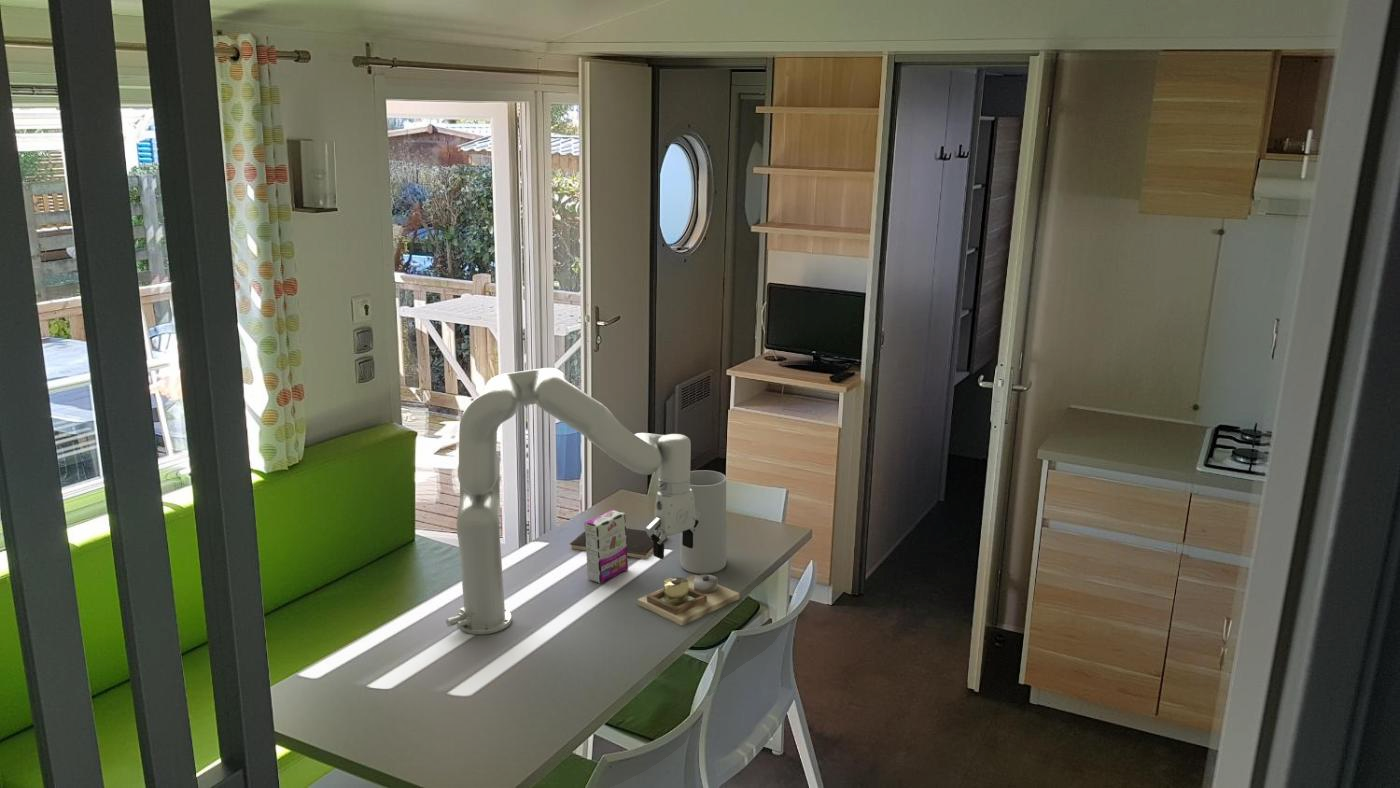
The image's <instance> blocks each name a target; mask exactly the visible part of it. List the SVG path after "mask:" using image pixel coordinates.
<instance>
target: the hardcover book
mask: <svg viewBox="0 0 1400 788" xmlns="http://www.w3.org/2000/svg"><path fill="white" fill-rule="evenodd" d="M660 535H661V533H659V535H658V538H659V537H660ZM667 537H668V536H667V535H666V536H665V538H664V540H663V542H664V541H665V540H666V539H667ZM626 541H627V556H630V557H629V558H634V557H636V559H641V558H642V560H646V559H647V558H648V557H649V556H650V555H651V554H653V541H651V539H650V538H649V537H648V534H647V532H646V530H645V529H644V530H643V529H635V528H630V527H629V528H627V527H626ZM569 545H570V546H571V549H572V550H577V549H578V551H584V550H586V537H585V531H583V532H582V533H581V534H579V535H578V536H577V537H576V538H575V539H574V540H573V541H571V542H570V543H569Z"/></svg>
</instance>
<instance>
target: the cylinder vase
mask: <svg viewBox="0 0 1400 788" xmlns="http://www.w3.org/2000/svg"><path fill="white" fill-rule="evenodd" d="M690 488H691V489H692V491H693V496H694V503H695V510H696V511H699V512H701V515H700V518H699V520H698V524H697V526H696V528H695V529H696V530H695V532H694V533H693V548H691V549H690V548H688V547H686V546H683V545H682V537H683V532H680V533H679V555H680V556H679V560H680V562H679V563H680V567H682V569H684V570H685V571H687V572H688V573H691V574H696V575H697V574H699V575H710V574H715V573H717V572H720V571H721V570H723V569H724V568H725V567H726V565H727V560H728V559H727V476H726V475H725V474H724V473H722V472H719V471H715V470H705V469H704V470H703V469H702V470H701V469H700V470H690Z"/></svg>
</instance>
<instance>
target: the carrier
mask: <svg viewBox="0 0 1400 788" xmlns="http://www.w3.org/2000/svg"><path fill="white" fill-rule="evenodd" d="M685 579H687V580H688V587H689V601H688V602H686V603H684V604H682V605H679V606H673V605H671V604H669V603H667V602H665V601H664V587H662V588H660V589H658V590H656V591H654V592H651V593H649V594H646V595H644V596H641V597H640V598H637V606H640V607H641V608H643V609H646V610H648V611H650V612H652V613H654V614H656V615H659V616H660V617H662V618H664V619H667V620H668V621H671V622H673V623H675V624H677V625H679V626H685V625H686V624H688V623H691V622H693V621H696V620H698V619H700V618H701V617H705V616H706V615H708V614H710V613H713V612H715V611H717V610H719V609H720V608H724V607H725V606H727V605H730V604H731V603H735V602H736V601H738V600H740V592H737V591H735V590H732V589H730V588H728V587H725V586H723V585H720V584H718V583H719V582H718V577H716V575H715V576H714V575H712V574H699V575H697V574H693V575H690V576H688V577H686V578H685Z"/></svg>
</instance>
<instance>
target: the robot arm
mask: <svg viewBox="0 0 1400 788" xmlns="http://www.w3.org/2000/svg"><path fill="white" fill-rule="evenodd" d="M483 389H484V390H483V393H482V394H479V395H478V396H477V397H476V398H474V399H473V400H472V401H471V402H470V403H469V404H468V405H467V406H466V407H465V409H464V411H463V412H462V415H461V417H460V420H459V431H458V433H459V434H458V438H459V439H458V440H459V441H458V442H459V443H458V465H457V477H458V482H459V506H458V509H457V516H456V534H457V541H458V549H459V560H460V561H459V563H460V571H461V584H462V595H463V596H462V598H463V599H462V600H463V607H460V608H459V613H457V614H456V616H451V617H449V618H447V619H446V620H445V623H446V626H447V627H448V628H450V627H452V626H455V625H457V628H458V629H460V630H461V631H463V632H464V633H467V634H470V635H471V634H472V635H490V634H494V633H498V632H500V631H503V630H504V629H506V628H507V627H509V626H510V625H511V623H512V621H513V615H512V613H511V611H509V610H508V609H506V608H505V594H504V579H503V564H502V563H503V562H502V561H503V560H502V549H501V537H500V509H501V508H500V507H501V506H500V505H501V502H500V501H501V499H500V498H501V494H500V493H501V492H500V491H501V488H500V487H501V486H500V485H501V484H500V480H501V479H500V477H501V475H500V474H501V469H500V468H501V466H500V465H501V464H500V463H501V462H500V457H499V455H498V452H497V446H498V445H497V443H498V442H497V440H498V437H497V435H498V430H499V427H500V426H501V424H503V423H505V422H507V421H508V420H510V419H511V418H513V417H514V416H515V415H516V414H517V412H518V410H519V408H520V407H523V406H530V405H537V406H538V407H539V409H542V410H543V411H544V412H545V413H547V414H549V415H551V416H553V418H555V419H557V420H559V421H560V422H562V423H564V424H565V425H567V426H569V428H571V429H573V430H574V431H576V432H578V433H580V434H581V435H582V436H584V437H585V438H586V439H587V440H588V441H589V442H591V443H592V444H593V445H595V446H596V447H597V448H598V449H600V450H601V451H602V452H604V453H605V454H606V455H607V456H609V457H610V458H611V459H613V460H615V461H616V462H617V463H619V464H621V465H622V466H623V467H625V468H627V469H628V470H630V471H632V472H634V473H635V474H638V475H642V476H649V475H653V474H654V473H655V472H657V471H658V485H657V486H656V491H657V492H656V497H655V504H654V511H653V513H654V514H653V520H652V521H651V522H650V523H649V525H647V526H646V527H645V528H644V531H646V532H647V534H648V537H649V538H650V539H651V541H653V552H652V555H653V557H655V558H658V559H660V560H663V559H664V558H665V543H664V541H665V540H664V538H665V536H666V535H667V537H669V536H670V537H671V536H674V535H676V534H680V532H683V537H682V545H683V546H686V547H688V548H690V549H691V548H693V533H694V532H695V530H696V529H695V528H696V526H697V524H698V520H699V518H700V515H701V512H699V511H696V510H695V503H694V496H693V491H692V489H691V488H690V471H691V458H692V457H691V456H692V455H691V449H692V448H691V447H692V445H691V443H692V442H691V439H690V438H689V437H688V436H686V435H685V434H681V433H670V434H669V433H668V434H657V433H649V432H637V433H635V434H634V433H633V432H631V430H629V429H627V428H626V427H625V426H624V425H623V424H622V423H620V421H619V420H618V419H617V418H616V417H615V416H614V415H613V413H612V412H611V410H610V409H608V407H606V405H604V404H603V403H601V402H600V401H599V400H597V399H595V398H594V397H592V396H591V395H588V393H586V392H584V391H583V390H581V389H579V388H578V387H576V386H575V385H574V384H572V383H570V382H569V381H568V378H567V376H566V374H565V373H564V372H562V371H561V370H559V369H558V368H555V367H543V368H542V367H541V368H536V369H535V368H533V369H528V370H522V371H521V370H520V371H514V372H508V373H507V372H505V373H501V374H497V375H495V376H493V377H492V378H490V379H488V381H487V383H486V384H485V386H484V388H483ZM659 533H661V535H660V537H659V538H658V535H659ZM663 540H664V541H663Z"/></svg>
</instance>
